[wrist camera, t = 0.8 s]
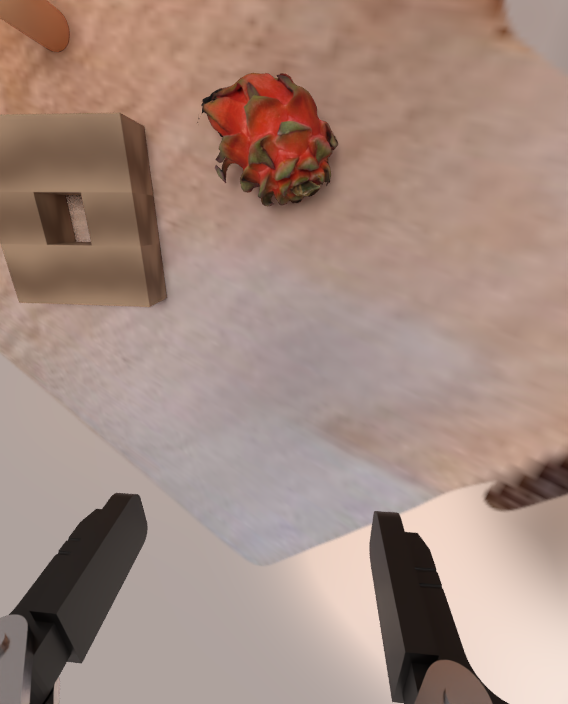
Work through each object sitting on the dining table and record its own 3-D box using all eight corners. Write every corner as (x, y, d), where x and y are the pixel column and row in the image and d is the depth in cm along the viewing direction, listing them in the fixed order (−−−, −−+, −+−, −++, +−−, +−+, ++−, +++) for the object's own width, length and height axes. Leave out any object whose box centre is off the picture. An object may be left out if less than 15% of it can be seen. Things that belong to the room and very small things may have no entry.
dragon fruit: (330, 202, 32) (231, 134, 32) (377, 110, 25) (249, 22, 25) (289, 246, 27) (174, 166, 27) (332, 149, 20) (176, 41, 20)
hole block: (3, 127, 30) (-40, 115, 27) (143, 126, 29) (119, 112, 26) (48, 294, 37) (19, 302, 33) (166, 297, 35) (149, 306, 32)
